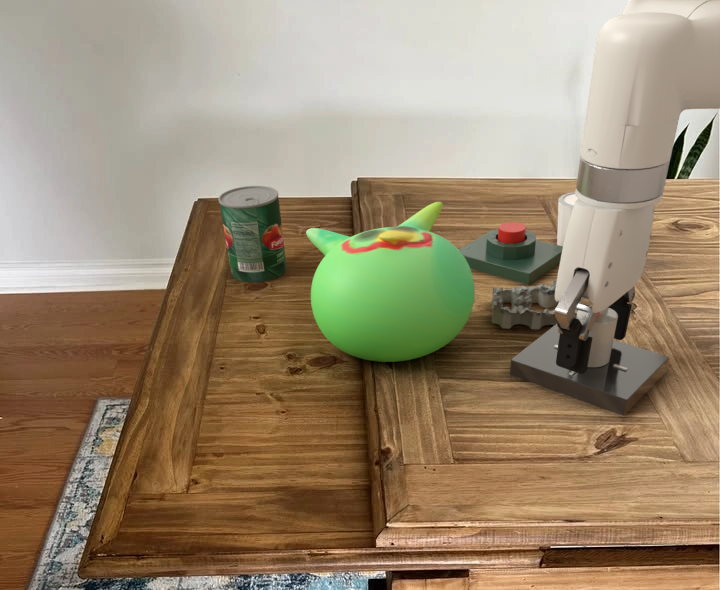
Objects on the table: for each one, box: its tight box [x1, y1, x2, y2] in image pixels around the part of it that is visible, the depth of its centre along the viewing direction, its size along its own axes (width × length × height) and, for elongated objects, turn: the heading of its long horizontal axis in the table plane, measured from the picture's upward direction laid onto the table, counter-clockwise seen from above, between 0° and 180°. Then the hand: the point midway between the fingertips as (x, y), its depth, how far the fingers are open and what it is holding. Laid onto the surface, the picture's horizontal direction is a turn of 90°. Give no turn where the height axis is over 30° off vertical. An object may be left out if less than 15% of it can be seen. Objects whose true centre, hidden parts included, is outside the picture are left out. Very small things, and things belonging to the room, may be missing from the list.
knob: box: [576, 304, 618, 367], centre depth 75 cm, size 4×4×5 cm
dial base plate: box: [509, 324, 670, 417], centre depth 77 cm, size 13×10×3 cm
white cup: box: [556, 191, 578, 246], centre depth 102 cm, size 7×7×7 cm
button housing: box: [457, 229, 563, 286], centre depth 100 cm, size 12×10×4 cm
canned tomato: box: [217, 185, 288, 283], centre depth 99 cm, size 8×8×11 cm
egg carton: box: [491, 280, 583, 330], centre depth 87 cm, size 11×8×4 cm
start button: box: [497, 221, 527, 243], centre depth 98 cm, size 4×4×2 cm
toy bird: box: [305, 201, 476, 363], centre depth 81 cm, size 18×17×15 cm
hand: (591, 350), depth 76 cm, fingers open, 7 cm apart
